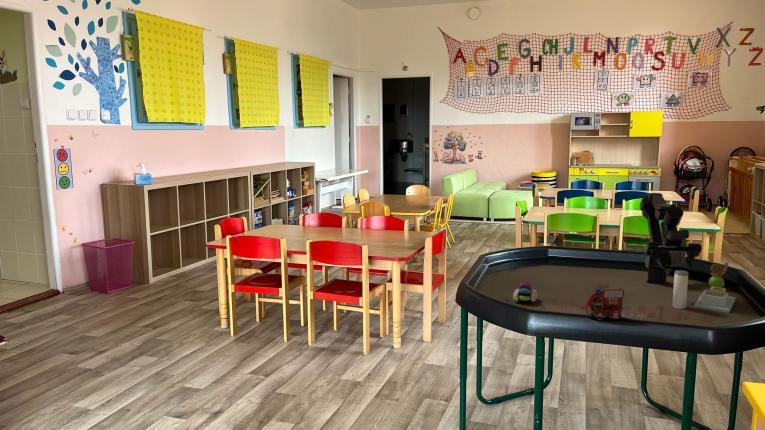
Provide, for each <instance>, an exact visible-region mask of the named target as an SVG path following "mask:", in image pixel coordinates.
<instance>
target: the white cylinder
mask: <svg viewBox="0 0 765 430" xmlns="http://www.w3.org/2000/svg"><path fill="white" fill-rule="evenodd" d="M673 274H674V276H673V290H672V291H673V292H672V306H671V307H672V308H674V309H680V310H684V309H687V297H688V285H689V283H688V282H689V271H688V270H687V271H686V270H674V273H673Z"/></svg>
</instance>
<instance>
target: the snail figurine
mask: <svg viewBox="0 0 765 430" xmlns="http://www.w3.org/2000/svg"><path fill="white" fill-rule="evenodd" d="M726 261H727V262H724V263H723V265H724V266H723V265H722V264H720V263H713V264H712V265H711V266H710V270H709V271H711V272H710V273H709V274H710V275H711V277H710V278H709V279H708V285H709V287H710V288H711V287H720V288H724V286H725V280H724V278H723V277H722V276H724V275H725V274H726V272H727V269H728V266H729V259H726Z"/></svg>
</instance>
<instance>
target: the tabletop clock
mask: <svg viewBox="0 0 765 430" xmlns="http://www.w3.org/2000/svg"><path fill="white" fill-rule="evenodd" d="M661 235H662V232H661ZM662 239H663V238H662ZM682 241H683V243H682V244H680V245H681V247H687V239H684V240H682ZM648 242H650V239H649V241H648ZM663 245H664V244H663ZM669 254H670V255H671V258H672V261H671V266H670V269H666V271H667V277H668V276H670V273H672V272H673V269H672V267H681V266H683V265H684V264H685V262H686V257H687V255H686V252H669Z"/></svg>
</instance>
